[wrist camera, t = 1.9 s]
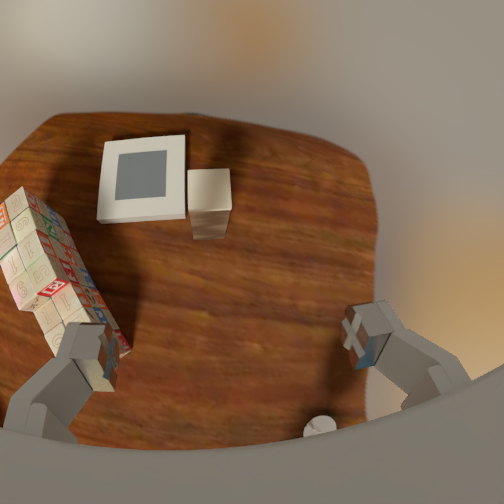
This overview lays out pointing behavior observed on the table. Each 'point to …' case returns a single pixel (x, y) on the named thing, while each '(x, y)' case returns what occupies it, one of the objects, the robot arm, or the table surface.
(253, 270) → the table surface
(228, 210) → the brown tall block
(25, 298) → the stack of blocks
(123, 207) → the plate
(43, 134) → the table surface
